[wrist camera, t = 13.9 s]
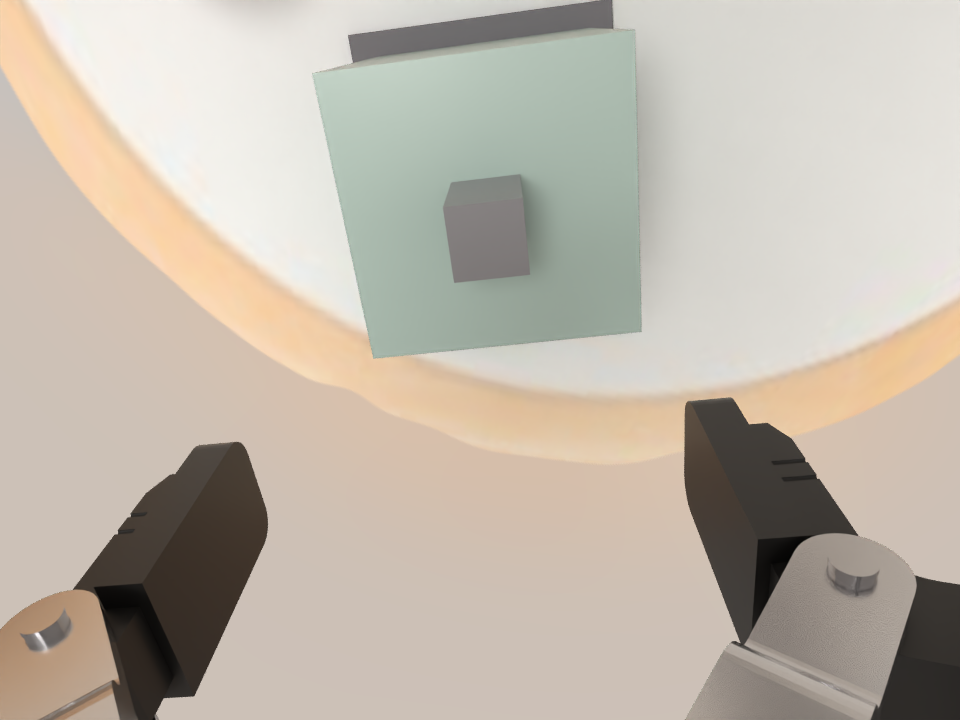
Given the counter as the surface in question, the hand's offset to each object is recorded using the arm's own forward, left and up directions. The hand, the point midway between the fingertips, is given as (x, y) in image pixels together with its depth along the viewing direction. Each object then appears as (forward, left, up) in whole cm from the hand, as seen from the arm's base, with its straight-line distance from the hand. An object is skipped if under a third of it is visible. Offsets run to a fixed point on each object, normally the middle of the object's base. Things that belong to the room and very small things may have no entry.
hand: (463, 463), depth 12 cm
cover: (0, 0, -36) cm, 36 cm away
